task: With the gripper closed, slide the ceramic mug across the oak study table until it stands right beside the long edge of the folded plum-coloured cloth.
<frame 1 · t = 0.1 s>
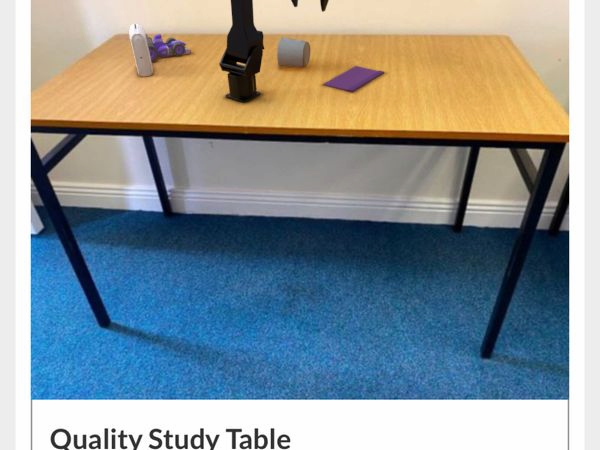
hand: (309, 9, 127), 15 cm above the table, tool pointing down, fingers open, 9 cm apart
ceramic mug: (294, 65, 136), on the table
cloth: (354, 79, 126), on the table
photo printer: (145, 71, 135), on the table
toy race car: (164, 55, 145), on the table
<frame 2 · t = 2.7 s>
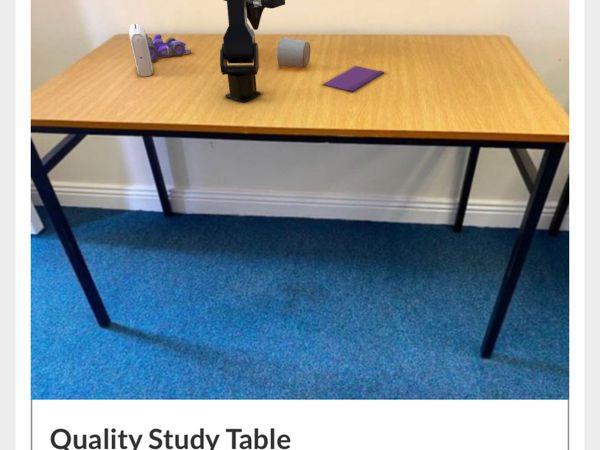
hand: (255, 29, 138), 8 cm above the table, tool pointing down, fingers closed
nothing on the table moved.
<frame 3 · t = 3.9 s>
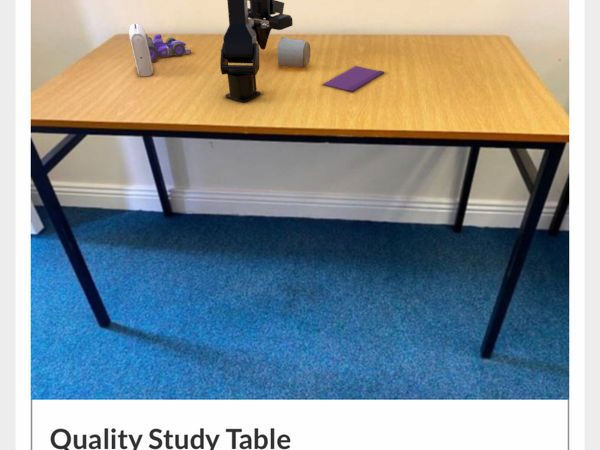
hand: (263, 49, 140), 3 cm above the table, tool pointing down, fingers closed
nothing on the table moved.
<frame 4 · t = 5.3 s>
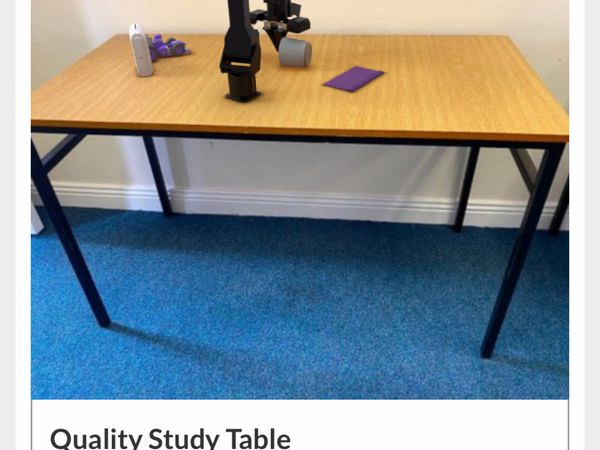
hand: (279, 52, 137), 3 cm above the table, tool pointing down, fingers closed
ceramic mug: (296, 65, 135), on the table, touching gripper
everything else where it was.
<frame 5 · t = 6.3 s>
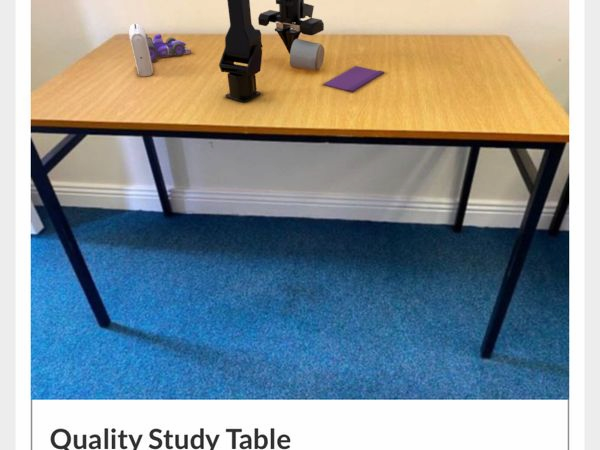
hand: (291, 53, 135), 3 cm above the table, tool pointing down, fingers closed
ceramic mug: (307, 67, 133), on the table, touching gripper
everything else where it was.
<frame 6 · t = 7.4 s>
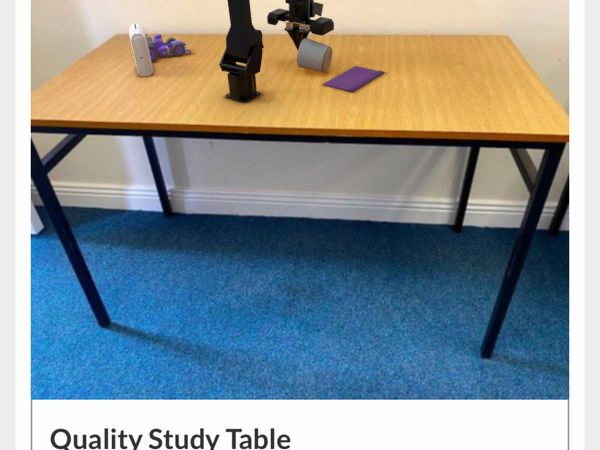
hand: (300, 53, 133), 3 cm above the table, tool pointing down, fingers closed
ceramic mug: (314, 68, 132), on the table, touching gripper
everything else where it was.
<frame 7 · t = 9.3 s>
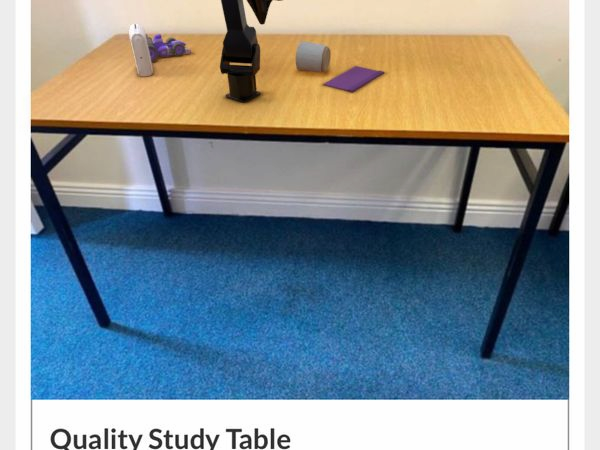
hand: (262, 24, 127), 12 cm above the table, tool pointing down, fingers closed
ceramic mug: (314, 70, 132), on the table
everything else where it was.
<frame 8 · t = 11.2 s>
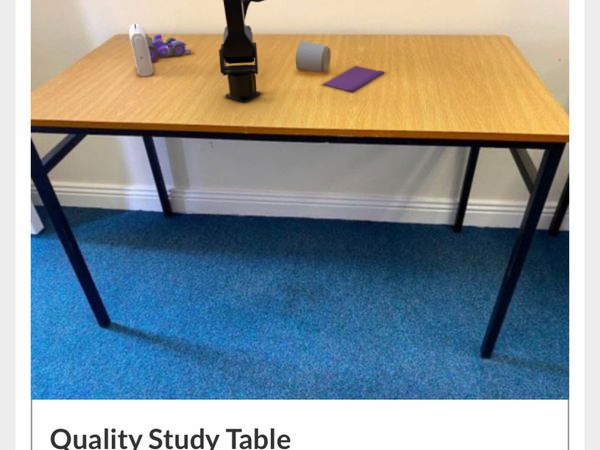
hand: (241, 25, 126), 12 cm above the table, tool pointing down, fingers closed
nothing on the table moved.
at the end: ceramic mug inside the target area on the table beside the cloth (2.2 cm from its centre), on the table; ceramic mug tilted 0°; ceramic mug moved 6.8 cm from its start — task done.
